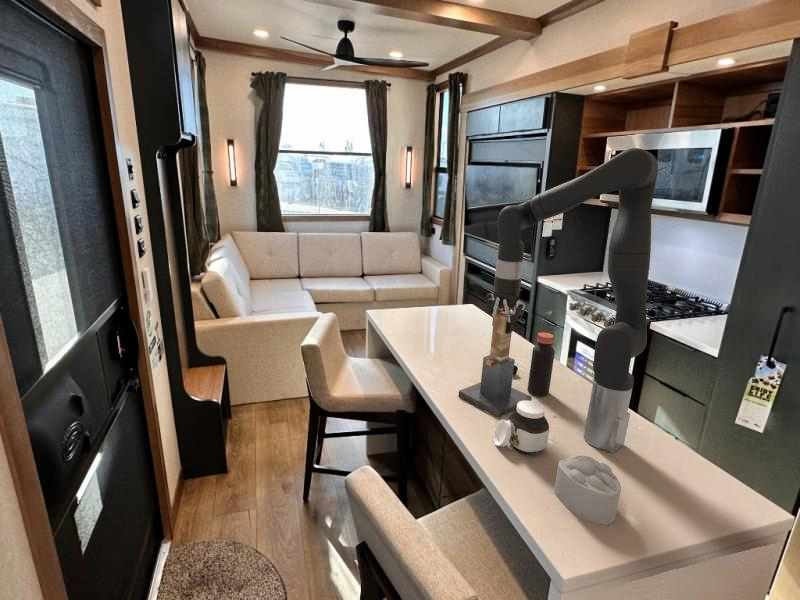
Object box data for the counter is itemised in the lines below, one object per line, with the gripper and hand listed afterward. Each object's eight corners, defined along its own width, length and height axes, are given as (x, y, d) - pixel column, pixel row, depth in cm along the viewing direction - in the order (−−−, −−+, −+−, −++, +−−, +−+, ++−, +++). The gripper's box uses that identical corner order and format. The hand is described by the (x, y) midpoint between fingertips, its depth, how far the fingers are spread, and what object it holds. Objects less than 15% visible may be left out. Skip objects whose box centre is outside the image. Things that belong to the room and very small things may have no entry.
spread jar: (550, 453, 115) (556, 412, 112) (517, 465, 109) (523, 423, 106) (517, 429, 125) (522, 392, 122) (485, 440, 119) (490, 400, 116)
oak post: (506, 376, 139) (513, 315, 133) (498, 379, 136) (505, 317, 131) (496, 372, 142) (502, 311, 136) (487, 375, 139) (494, 313, 134)
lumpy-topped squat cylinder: (583, 479, 105) (589, 447, 103) (628, 518, 94) (636, 483, 91) (547, 488, 102) (552, 455, 99) (589, 530, 90) (596, 494, 88)
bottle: (523, 391, 147) (530, 334, 142) (533, 385, 152) (541, 329, 146) (542, 399, 143) (550, 340, 137) (552, 392, 147) (561, 335, 142)
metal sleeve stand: (531, 402, 140) (536, 361, 136) (498, 418, 130) (503, 374, 126) (491, 383, 152) (495, 344, 148) (458, 396, 142) (461, 355, 138)
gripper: (536, 278, 127) (529, 335, 132) (497, 269, 138) (491, 322, 142) (520, 282, 123) (513, 340, 127) (481, 271, 133) (475, 326, 138)
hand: (502, 330), depth 135 cm, fingers closed on oak post, 4 cm apart
